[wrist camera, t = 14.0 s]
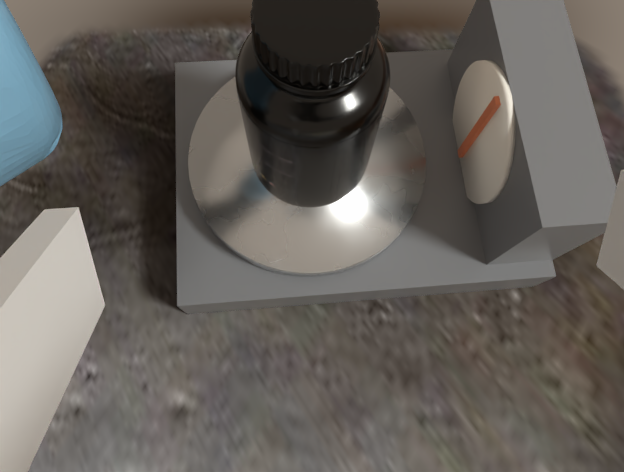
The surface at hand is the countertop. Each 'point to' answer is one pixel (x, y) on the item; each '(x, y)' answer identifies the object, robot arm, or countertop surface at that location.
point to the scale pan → (303, 220)
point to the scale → (442, 171)
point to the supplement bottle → (312, 95)
